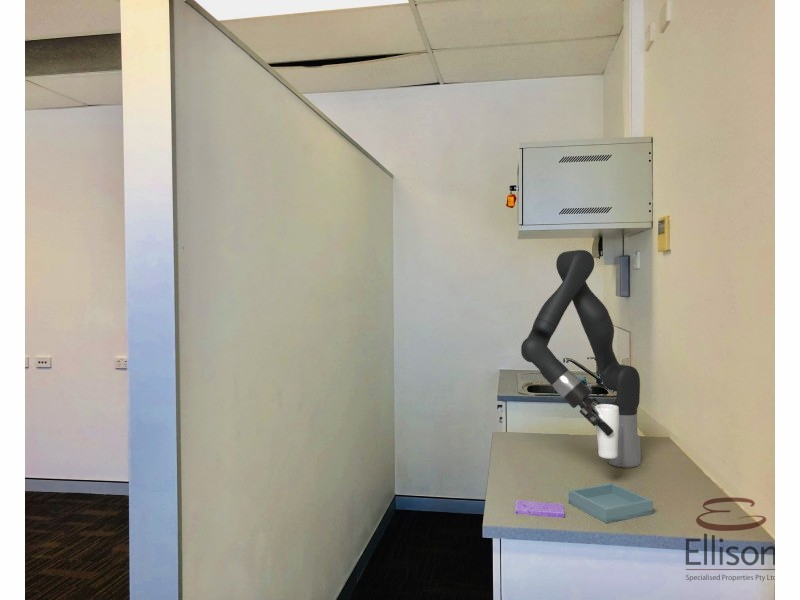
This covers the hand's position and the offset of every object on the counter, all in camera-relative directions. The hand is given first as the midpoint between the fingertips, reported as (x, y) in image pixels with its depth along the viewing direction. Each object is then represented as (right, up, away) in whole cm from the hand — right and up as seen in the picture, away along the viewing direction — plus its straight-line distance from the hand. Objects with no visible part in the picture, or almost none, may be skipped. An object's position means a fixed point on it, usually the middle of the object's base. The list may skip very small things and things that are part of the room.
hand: (613, 430), depth 166 cm
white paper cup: (-1, -8, +1) cm, 8 cm away
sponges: (-26, -19, -16) cm, 35 cm away
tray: (-7, -17, -15) cm, 24 cm away
